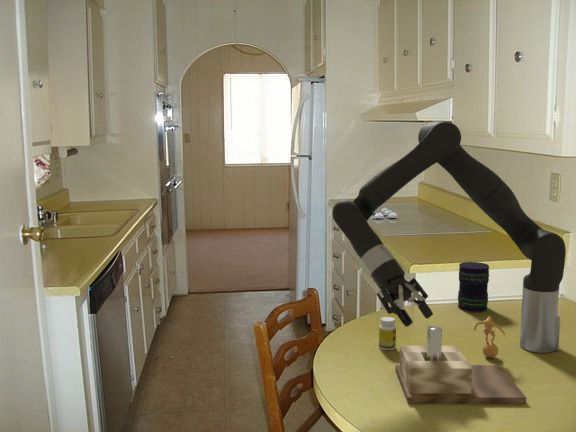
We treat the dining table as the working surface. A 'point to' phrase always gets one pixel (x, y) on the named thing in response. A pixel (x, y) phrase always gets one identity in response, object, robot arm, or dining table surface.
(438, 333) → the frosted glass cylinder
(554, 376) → the dining table surface
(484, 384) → the walnut board
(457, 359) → the beech bead block
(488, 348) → the figurine
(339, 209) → the robot arm
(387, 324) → the supplement bottle
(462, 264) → the storage jar
